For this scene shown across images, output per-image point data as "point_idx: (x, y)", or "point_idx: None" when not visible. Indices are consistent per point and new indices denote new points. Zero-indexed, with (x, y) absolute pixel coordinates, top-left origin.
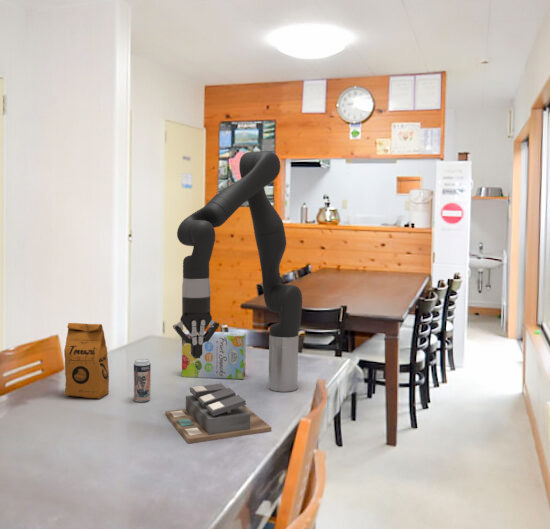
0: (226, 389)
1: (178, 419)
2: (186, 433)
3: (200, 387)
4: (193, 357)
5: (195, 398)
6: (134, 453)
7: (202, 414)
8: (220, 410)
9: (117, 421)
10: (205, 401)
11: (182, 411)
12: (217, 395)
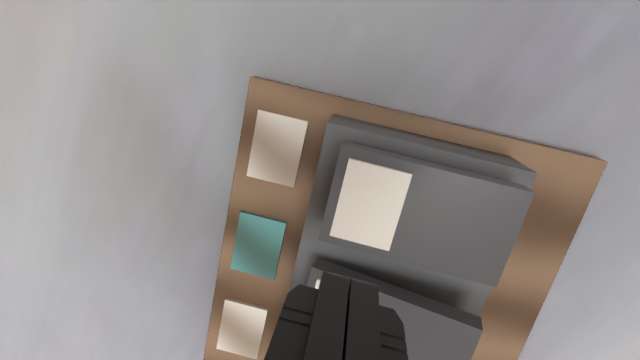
0: (456, 337)
1: (254, 195)
2: (218, 322)
3: (383, 195)
4: (319, 284)
5: None
6: (53, 320)
7: None
8: None
9: (64, 33)
10: None
11: (312, 122)
12: None
